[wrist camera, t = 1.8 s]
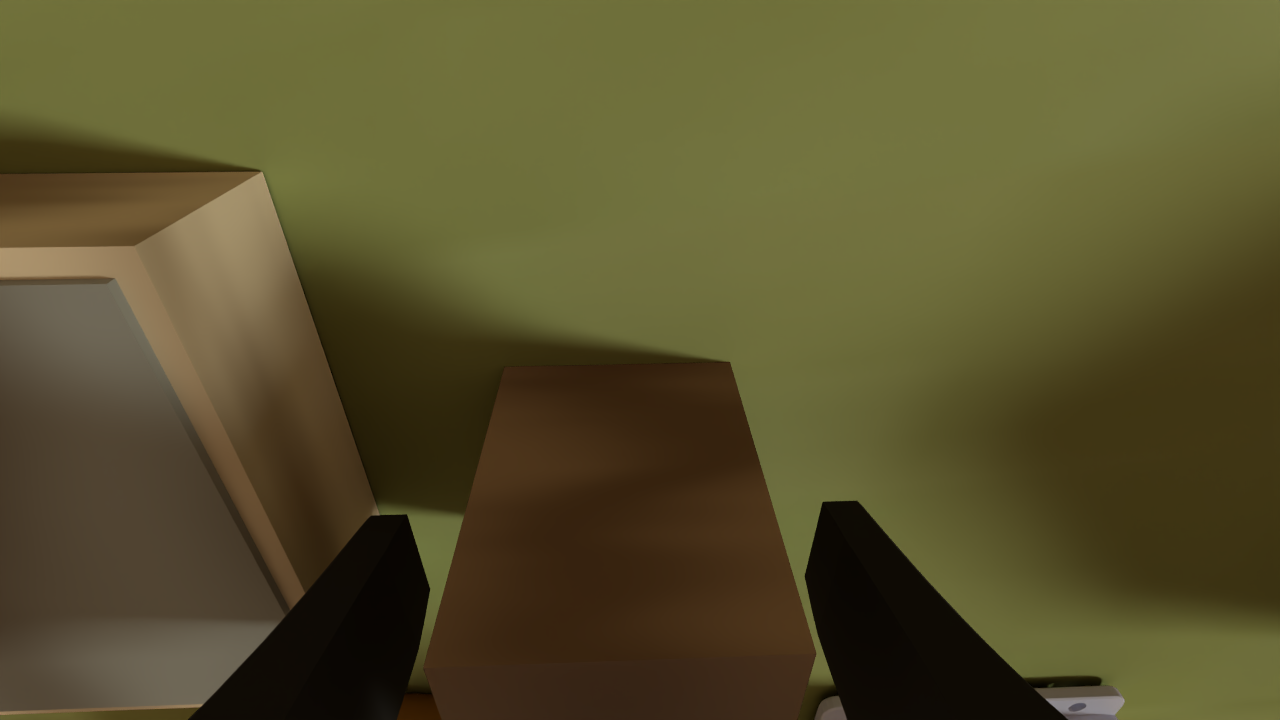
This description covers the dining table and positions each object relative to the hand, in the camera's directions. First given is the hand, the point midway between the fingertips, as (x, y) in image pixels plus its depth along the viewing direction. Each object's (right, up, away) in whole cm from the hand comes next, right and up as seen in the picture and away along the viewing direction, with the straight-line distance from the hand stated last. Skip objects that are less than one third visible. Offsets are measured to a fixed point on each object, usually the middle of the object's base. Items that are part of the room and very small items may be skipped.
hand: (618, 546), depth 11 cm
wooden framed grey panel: (-11, +2, +1) cm, 11 cm away
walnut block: (0, +1, +2) cm, 3 cm away
